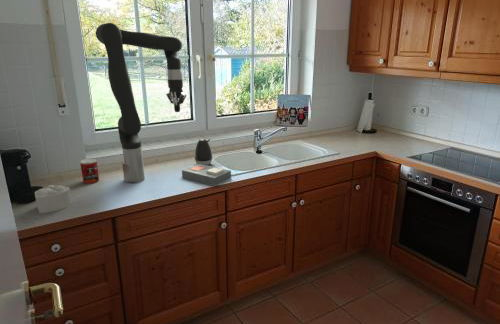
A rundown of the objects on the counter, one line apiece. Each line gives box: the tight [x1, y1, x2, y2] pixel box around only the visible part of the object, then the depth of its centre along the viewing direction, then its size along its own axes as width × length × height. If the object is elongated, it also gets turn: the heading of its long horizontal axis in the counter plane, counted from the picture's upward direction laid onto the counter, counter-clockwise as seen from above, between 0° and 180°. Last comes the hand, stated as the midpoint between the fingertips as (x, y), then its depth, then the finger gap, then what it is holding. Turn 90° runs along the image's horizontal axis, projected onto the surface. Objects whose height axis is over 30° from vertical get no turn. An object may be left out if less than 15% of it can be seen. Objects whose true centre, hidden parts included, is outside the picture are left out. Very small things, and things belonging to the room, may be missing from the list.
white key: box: [207, 166, 224, 176], centre depth 186 cm, size 6×6×4 cm
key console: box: [181, 163, 232, 186], centre depth 189 cm, size 13×22×4 cm, turn 55°
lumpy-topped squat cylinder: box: [34, 184, 73, 214], centre depth 156 cm, size 10×13×9 cm
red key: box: [190, 166, 205, 171], centre depth 193 cm, size 6×6×4 cm
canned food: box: [79, 158, 100, 185], centre depth 185 cm, size 8×8×11 cm
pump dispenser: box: [194, 138, 213, 166], centre depth 209 cm, size 10×10×15 cm
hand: (177, 111), depth 194 cm, fingers closed
